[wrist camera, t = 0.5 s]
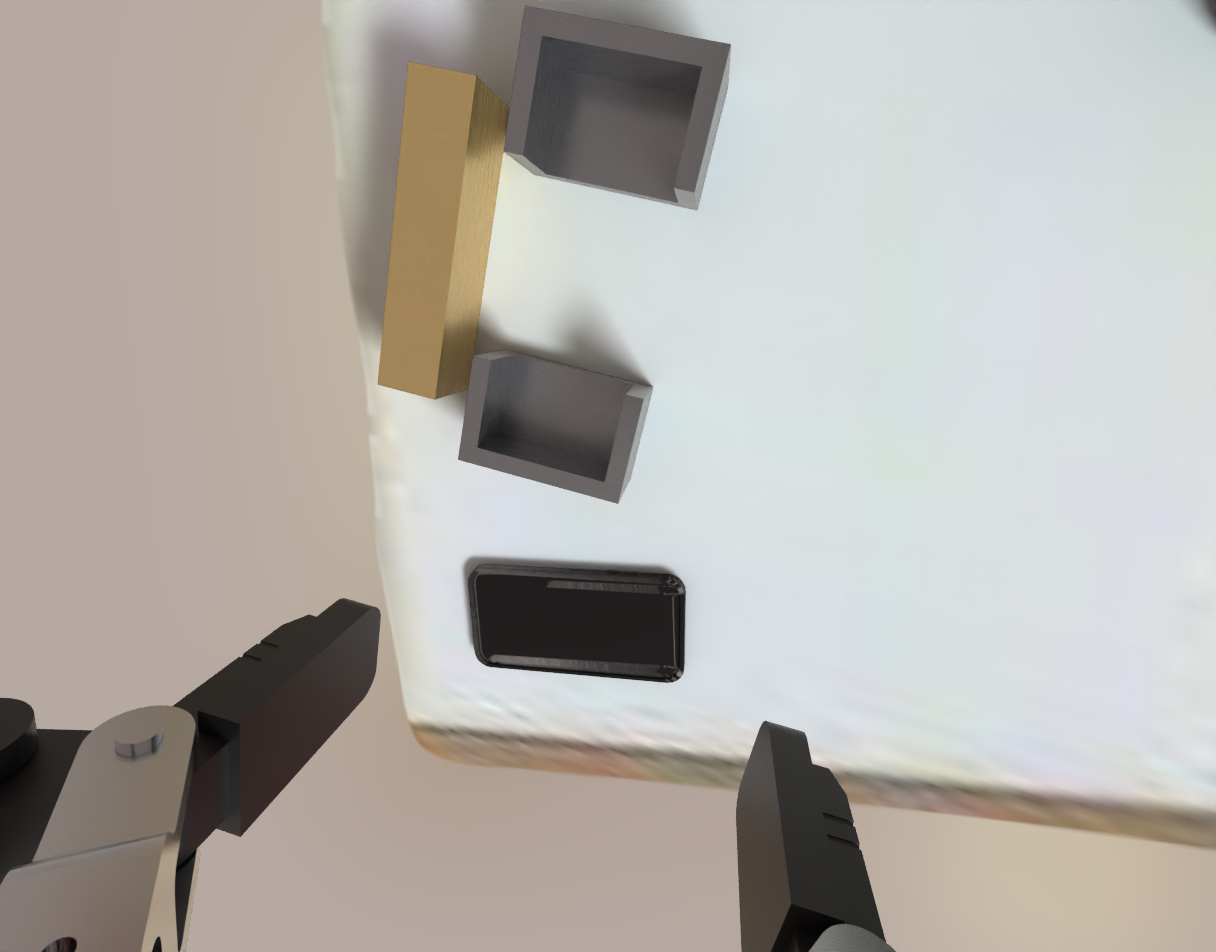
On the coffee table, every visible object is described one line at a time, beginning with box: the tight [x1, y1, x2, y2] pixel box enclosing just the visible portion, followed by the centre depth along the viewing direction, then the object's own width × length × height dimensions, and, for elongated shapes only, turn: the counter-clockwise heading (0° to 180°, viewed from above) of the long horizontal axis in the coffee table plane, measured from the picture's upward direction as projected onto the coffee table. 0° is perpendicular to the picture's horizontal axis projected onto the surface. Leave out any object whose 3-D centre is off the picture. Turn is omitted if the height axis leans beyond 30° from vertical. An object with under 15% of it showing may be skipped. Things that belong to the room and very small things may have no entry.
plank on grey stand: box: [458, 6, 731, 504], centre depth 31 cm, size 22×10×5 cm, turn 167°
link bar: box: [378, 62, 509, 399], centre depth 32 cm, size 16×4×5 cm, turn 167°
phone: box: [468, 564, 686, 683], centre depth 40 cm, size 8×1×15 cm
